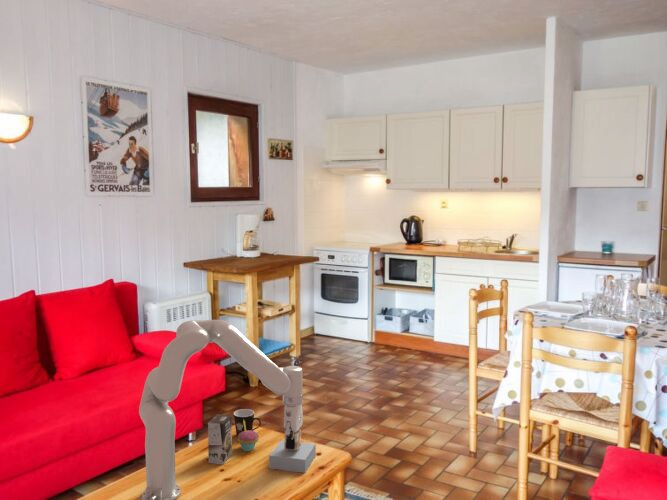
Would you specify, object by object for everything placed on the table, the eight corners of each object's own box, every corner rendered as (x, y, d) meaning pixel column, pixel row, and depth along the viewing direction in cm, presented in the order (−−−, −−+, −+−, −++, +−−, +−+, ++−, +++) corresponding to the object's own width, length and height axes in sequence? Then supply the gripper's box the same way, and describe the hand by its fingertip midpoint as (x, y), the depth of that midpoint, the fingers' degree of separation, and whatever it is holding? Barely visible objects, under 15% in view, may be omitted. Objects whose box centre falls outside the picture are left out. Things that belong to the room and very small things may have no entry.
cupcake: (233, 451, 233) (233, 422, 232) (243, 442, 241) (242, 414, 240) (253, 454, 230) (253, 424, 229) (262, 445, 238) (262, 416, 237)
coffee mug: (230, 435, 248) (229, 412, 247) (247, 429, 254) (246, 407, 253) (245, 444, 239) (244, 420, 238) (262, 438, 245) (262, 415, 244)
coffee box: (224, 464, 222) (223, 423, 220) (208, 463, 223) (207, 422, 221) (232, 454, 231) (232, 414, 229) (217, 452, 232) (216, 413, 230)
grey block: (305, 472, 216) (305, 459, 215) (269, 468, 219) (269, 455, 218) (315, 456, 229) (315, 443, 229) (281, 452, 232) (281, 440, 232)
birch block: (297, 450, 220) (297, 434, 220) (284, 448, 221) (284, 433, 221) (301, 444, 225) (301, 429, 224) (288, 443, 226) (288, 428, 226)
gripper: (295, 408, 212) (295, 456, 214) (308, 392, 229) (308, 437, 231) (275, 406, 214) (275, 454, 216) (290, 390, 230) (290, 435, 232)
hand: (292, 445), depth 223 cm, fingers closed on birch block, 5 cm apart
